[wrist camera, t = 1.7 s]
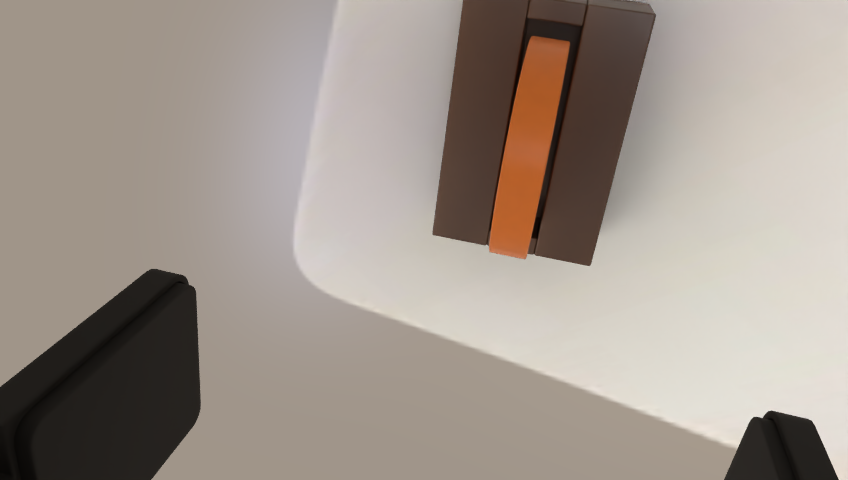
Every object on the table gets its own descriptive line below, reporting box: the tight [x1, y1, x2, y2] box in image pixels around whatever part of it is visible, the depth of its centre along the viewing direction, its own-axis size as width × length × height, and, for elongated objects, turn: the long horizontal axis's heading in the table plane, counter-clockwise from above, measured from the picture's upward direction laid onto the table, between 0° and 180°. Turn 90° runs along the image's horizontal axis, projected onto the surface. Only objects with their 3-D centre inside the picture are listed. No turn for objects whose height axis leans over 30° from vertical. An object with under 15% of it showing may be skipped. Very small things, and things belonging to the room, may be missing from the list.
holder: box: [433, 0, 656, 266], centre depth 24 cm, size 6×9×2 cm, turn 174°
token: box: [489, 36, 570, 259], centre depth 22 cm, size 1×7×7 cm, turn 174°
